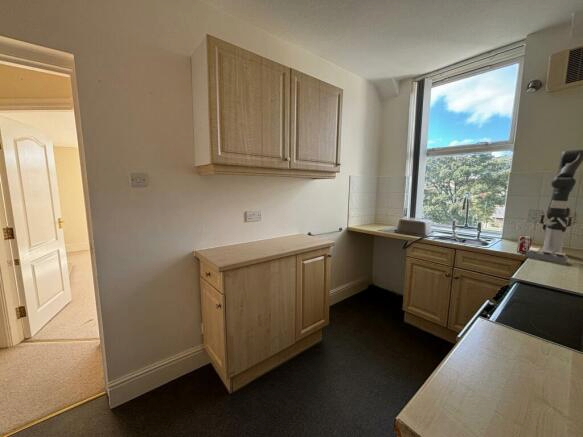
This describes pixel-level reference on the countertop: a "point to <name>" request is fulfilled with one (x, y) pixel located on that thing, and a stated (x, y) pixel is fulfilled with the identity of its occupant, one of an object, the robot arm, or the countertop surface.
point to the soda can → (524, 244)
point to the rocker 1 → (534, 249)
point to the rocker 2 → (560, 253)
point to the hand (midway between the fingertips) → (553, 231)
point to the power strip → (547, 257)
